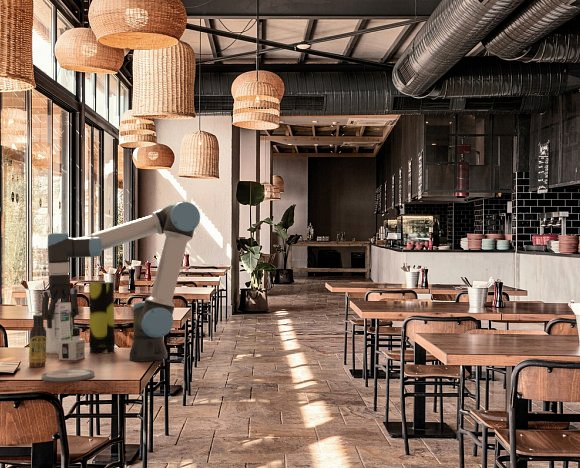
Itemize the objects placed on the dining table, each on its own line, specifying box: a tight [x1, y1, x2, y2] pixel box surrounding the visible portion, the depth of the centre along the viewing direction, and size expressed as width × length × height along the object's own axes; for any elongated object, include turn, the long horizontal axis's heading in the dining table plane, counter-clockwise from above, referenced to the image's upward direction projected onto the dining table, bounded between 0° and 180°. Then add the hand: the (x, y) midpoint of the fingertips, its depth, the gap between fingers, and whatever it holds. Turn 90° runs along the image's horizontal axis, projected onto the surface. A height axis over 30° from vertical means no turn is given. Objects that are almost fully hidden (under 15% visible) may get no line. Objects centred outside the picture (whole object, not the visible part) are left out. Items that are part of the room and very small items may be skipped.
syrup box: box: [48, 301, 73, 343], centre depth 284 cm, size 6×6×14 cm
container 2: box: [88, 281, 116, 355], centre depth 331 cm, size 11×11×30 cm
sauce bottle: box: [28, 314, 47, 368], centre depth 295 cm, size 6×6×20 cm
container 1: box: [58, 326, 86, 361], centre depth 313 cm, size 8×8×13 cm
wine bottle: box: [44, 299, 61, 355], centre depth 332 cm, size 10×10×30 cm
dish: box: [41, 369, 95, 383], centre depth 270 cm, size 18×18×1 cm
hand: (61, 335), depth 284 cm, fingers closed on syrup box, 6 cm apart
